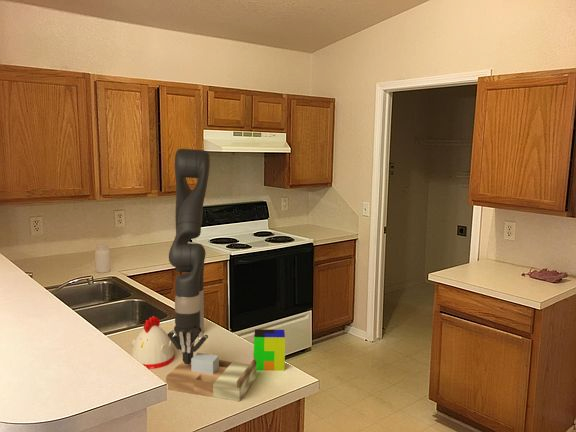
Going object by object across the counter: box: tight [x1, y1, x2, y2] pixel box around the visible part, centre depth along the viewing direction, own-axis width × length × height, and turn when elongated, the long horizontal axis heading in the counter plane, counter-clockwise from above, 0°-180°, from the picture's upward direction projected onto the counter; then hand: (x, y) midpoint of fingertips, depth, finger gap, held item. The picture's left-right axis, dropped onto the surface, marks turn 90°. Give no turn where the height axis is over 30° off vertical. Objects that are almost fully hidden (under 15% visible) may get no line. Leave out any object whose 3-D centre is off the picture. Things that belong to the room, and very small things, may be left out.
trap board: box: [165, 355, 257, 402], centre depth 146 cm, size 15×23×6 cm, turn 75°
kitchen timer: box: [130, 315, 175, 370], centre depth 160 cm, size 14×14×15 cm
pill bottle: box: [94, 243, 112, 274], centre depth 268 cm, size 8×8×15 cm
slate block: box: [191, 352, 220, 375], centre depth 146 cm, size 4×7×4 cm, turn 75°
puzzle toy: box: [253, 328, 286, 372], centre depth 160 cm, size 10×10×10 cm
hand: (187, 363), depth 148 cm, fingers closed
